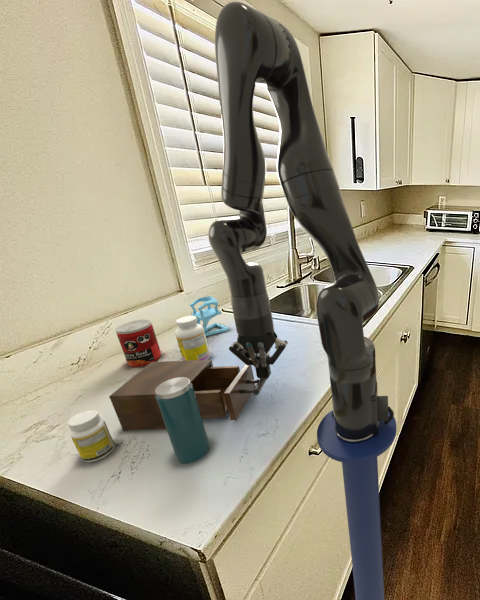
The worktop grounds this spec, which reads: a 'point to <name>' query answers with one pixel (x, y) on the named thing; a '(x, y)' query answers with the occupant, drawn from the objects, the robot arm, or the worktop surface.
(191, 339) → the supplement bottle
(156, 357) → the canned food
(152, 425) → the cabinet
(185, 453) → the can
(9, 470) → the worktop surface
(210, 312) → the chair
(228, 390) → the drawer
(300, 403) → the worktop surface
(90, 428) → the supplement bottle
